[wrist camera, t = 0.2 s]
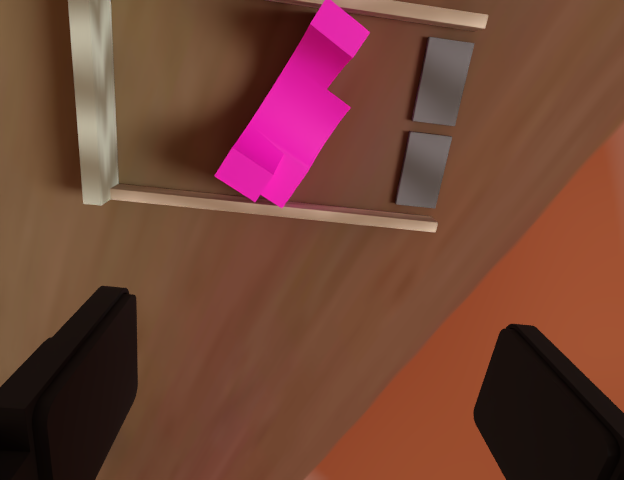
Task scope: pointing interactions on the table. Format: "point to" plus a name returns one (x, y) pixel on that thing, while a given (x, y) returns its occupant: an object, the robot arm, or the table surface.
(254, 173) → the toy block
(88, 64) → the channel
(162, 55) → the table surface
